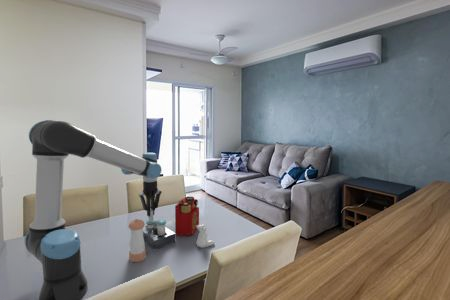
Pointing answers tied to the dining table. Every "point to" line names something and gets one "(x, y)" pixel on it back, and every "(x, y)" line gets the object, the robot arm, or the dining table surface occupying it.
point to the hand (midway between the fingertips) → (150, 221)
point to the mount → (158, 238)
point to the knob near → (161, 227)
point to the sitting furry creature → (203, 237)
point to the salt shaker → (136, 241)
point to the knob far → (150, 224)
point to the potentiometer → (155, 226)
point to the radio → (186, 216)
